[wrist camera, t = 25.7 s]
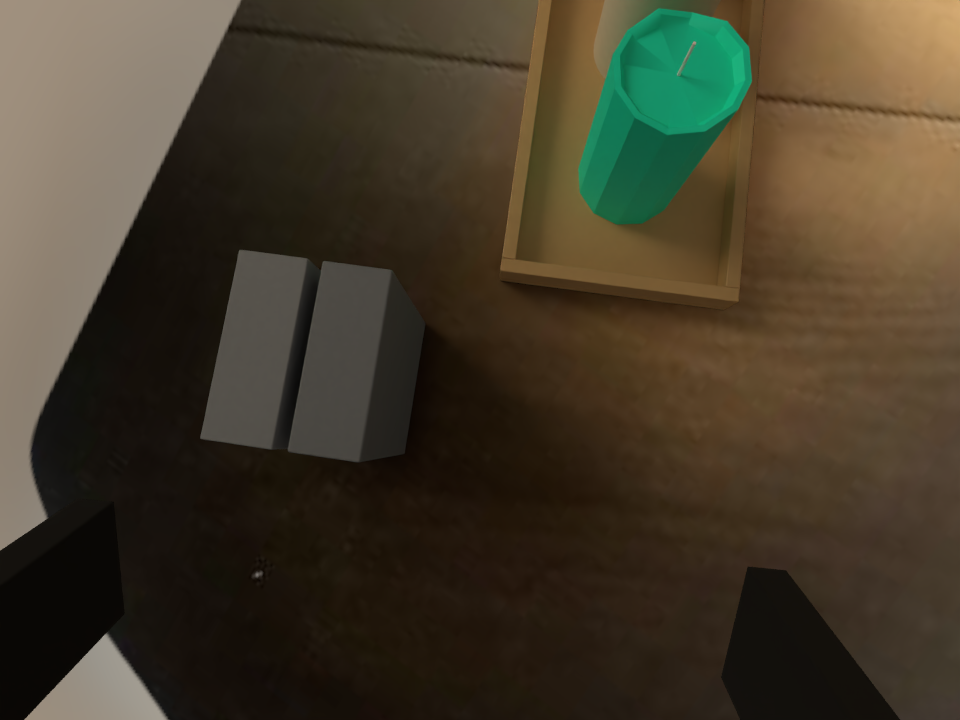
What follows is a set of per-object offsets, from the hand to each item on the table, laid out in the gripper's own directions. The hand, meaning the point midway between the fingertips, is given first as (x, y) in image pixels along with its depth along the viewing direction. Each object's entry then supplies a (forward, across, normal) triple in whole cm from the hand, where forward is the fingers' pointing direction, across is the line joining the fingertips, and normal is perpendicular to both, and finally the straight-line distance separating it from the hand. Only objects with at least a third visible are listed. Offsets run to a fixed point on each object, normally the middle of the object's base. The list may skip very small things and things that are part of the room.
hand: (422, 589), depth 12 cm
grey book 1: (+22, -9, -3) cm, 24 cm away
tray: (+30, +8, +16) cm, 35 cm away
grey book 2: (+22, -5, -3) cm, 23 cm away
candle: (+27, +8, +10) cm, 30 cm away
